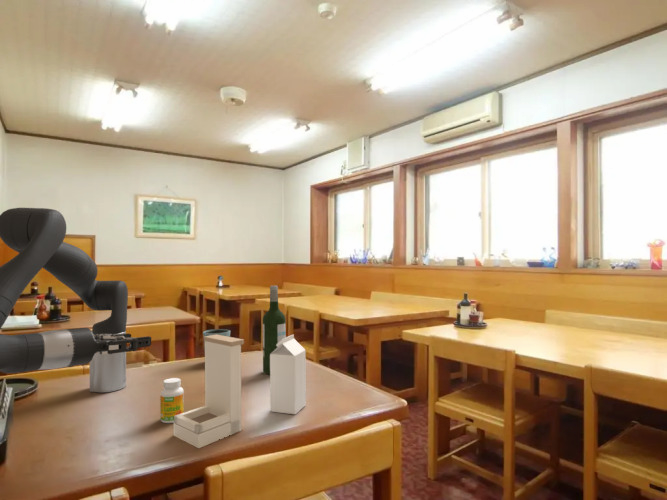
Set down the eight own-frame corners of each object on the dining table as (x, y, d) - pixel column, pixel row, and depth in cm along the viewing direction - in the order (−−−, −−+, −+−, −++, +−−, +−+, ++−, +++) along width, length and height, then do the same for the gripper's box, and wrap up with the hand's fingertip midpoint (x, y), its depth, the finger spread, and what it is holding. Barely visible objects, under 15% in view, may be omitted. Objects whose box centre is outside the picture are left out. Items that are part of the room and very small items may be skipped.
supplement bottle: (161, 425, 99) (161, 384, 99) (159, 417, 104) (159, 378, 104) (185, 421, 102) (184, 381, 102) (182, 413, 106) (181, 375, 107)
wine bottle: (266, 368, 149) (266, 285, 149) (288, 369, 148) (287, 285, 148) (260, 374, 141) (259, 286, 141) (282, 375, 140) (281, 286, 140)
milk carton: (306, 405, 111) (305, 335, 112) (295, 415, 105) (294, 340, 105) (282, 402, 114) (281, 333, 114) (270, 412, 107) (269, 338, 107)
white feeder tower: (199, 448, 87) (199, 348, 87) (172, 435, 94) (172, 342, 94) (244, 430, 96) (244, 339, 96) (216, 418, 103) (216, 334, 103)
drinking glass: (204, 367, 151) (204, 334, 151) (201, 360, 161) (201, 329, 161) (232, 363, 155) (232, 332, 155) (228, 358, 165) (228, 327, 165)
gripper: (80, 332, 79) (158, 325, 93) (49, 327, 87) (124, 321, 101) (78, 371, 79) (157, 359, 92) (47, 363, 87) (123, 352, 100)
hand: (140, 339), depth 96 cm, fingers open, 8 cm apart
